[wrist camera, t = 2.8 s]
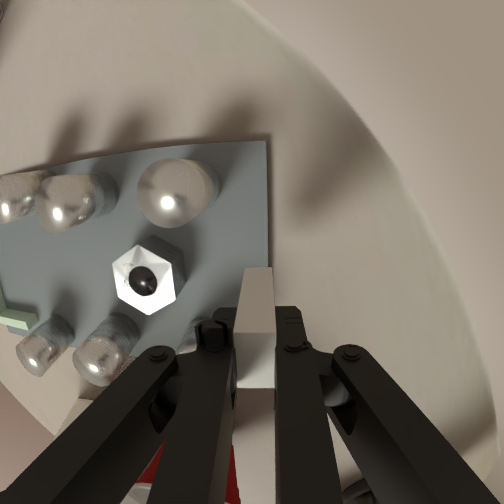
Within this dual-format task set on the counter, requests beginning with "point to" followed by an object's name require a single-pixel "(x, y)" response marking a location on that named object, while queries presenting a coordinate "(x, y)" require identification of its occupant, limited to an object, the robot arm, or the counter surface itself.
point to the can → (1, 12)
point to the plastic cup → (145, 481)
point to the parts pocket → (16, 316)
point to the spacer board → (134, 232)
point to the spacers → (85, 210)
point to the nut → (150, 274)
